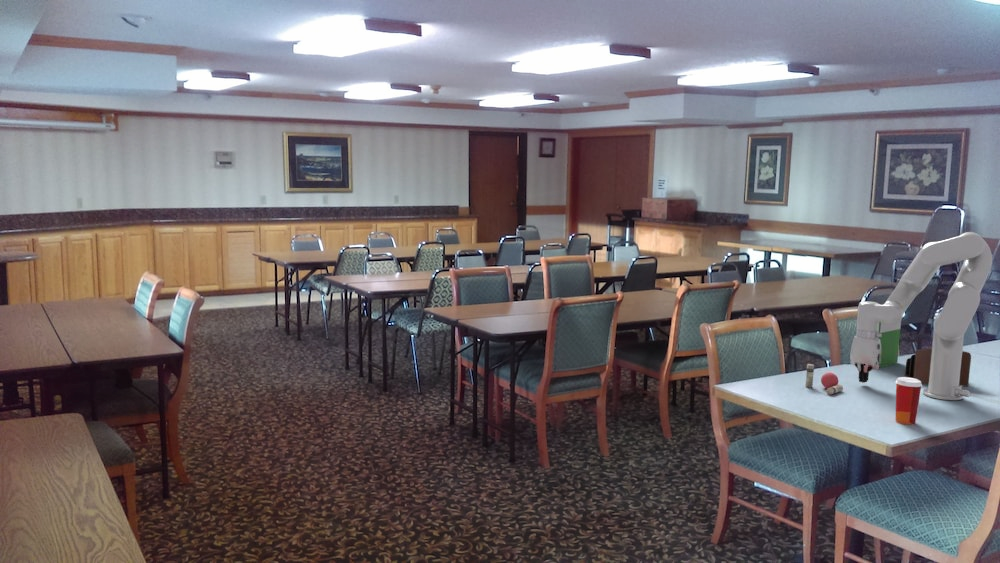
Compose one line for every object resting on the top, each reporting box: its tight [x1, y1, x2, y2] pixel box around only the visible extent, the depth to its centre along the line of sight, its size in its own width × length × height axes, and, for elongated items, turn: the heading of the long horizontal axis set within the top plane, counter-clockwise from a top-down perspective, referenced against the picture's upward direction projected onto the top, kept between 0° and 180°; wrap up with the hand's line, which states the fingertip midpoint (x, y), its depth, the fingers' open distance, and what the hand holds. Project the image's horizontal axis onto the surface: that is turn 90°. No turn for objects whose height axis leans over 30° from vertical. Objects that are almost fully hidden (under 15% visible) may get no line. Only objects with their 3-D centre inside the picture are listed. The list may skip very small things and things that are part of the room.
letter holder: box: [904, 348, 972, 387], centre depth 301 cm, size 10×20×14 cm, turn 80°
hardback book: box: [878, 320, 902, 368], centre depth 329 cm, size 18×7×24 cm, turn 128°
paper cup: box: [895, 376, 923, 426], centre depth 247 cm, size 8×8×14 cm
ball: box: [820, 372, 839, 389], centre depth 287 cm, size 6×6×6 cm
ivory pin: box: [825, 384, 844, 396], centre depth 281 cm, size 2×2×8 cm
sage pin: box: [805, 363, 815, 389], centre depth 289 cm, size 2×2×8 cm
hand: (863, 381), depth 293 cm, fingers closed
